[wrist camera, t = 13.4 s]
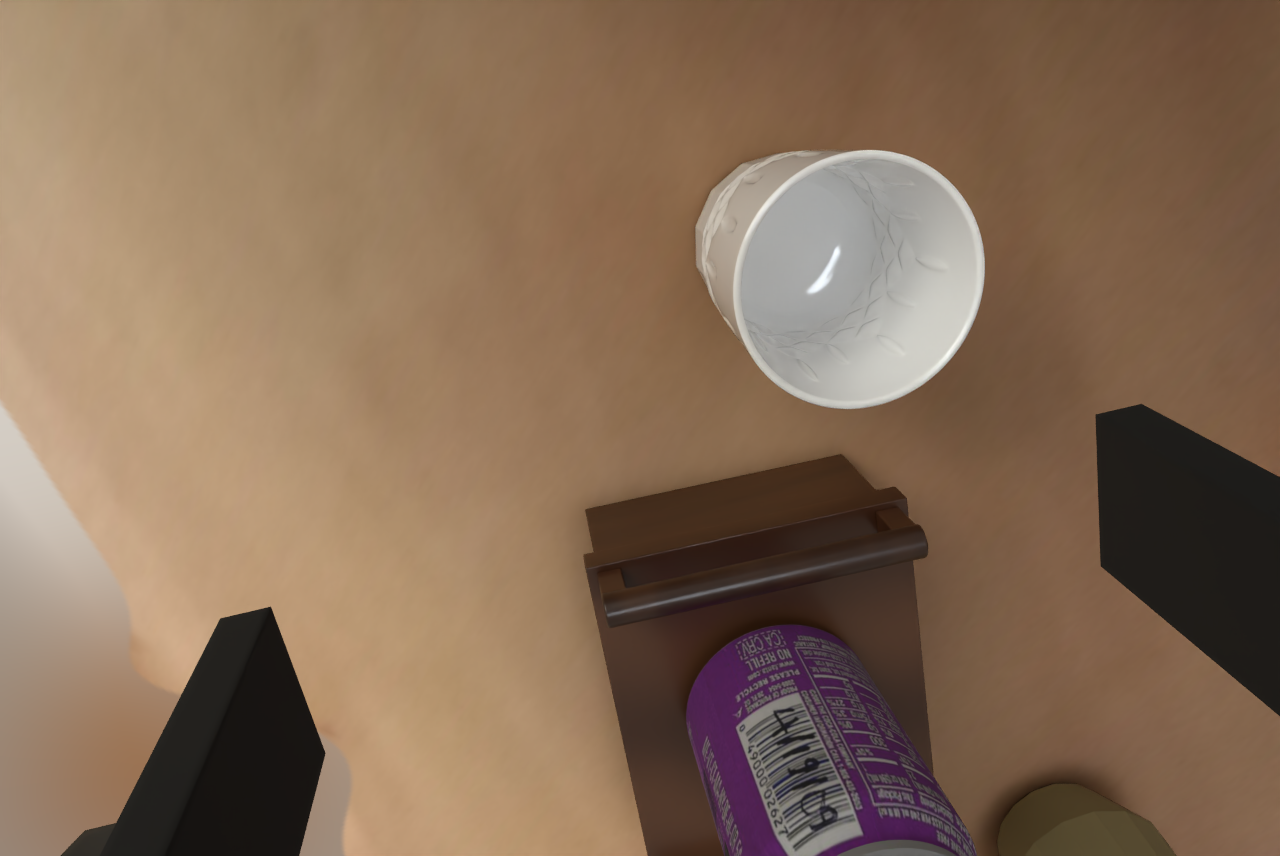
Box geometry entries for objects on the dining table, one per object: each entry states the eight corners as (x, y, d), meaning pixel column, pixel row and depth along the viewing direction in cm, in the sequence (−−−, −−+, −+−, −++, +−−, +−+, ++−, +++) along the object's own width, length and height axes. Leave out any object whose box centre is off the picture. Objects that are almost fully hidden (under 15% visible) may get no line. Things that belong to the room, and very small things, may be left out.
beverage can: (662, 762, 39) (727, 1031, 28) (710, 600, 37) (801, 818, 26) (831, 785, 41) (959, 1051, 29) (886, 630, 39) (1045, 850, 27)
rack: (573, 500, 42) (591, 603, 34) (849, 440, 43) (936, 527, 35) (639, 808, 48) (670, 967, 39) (885, 750, 48) (968, 893, 40)
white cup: (761, 377, 42) (837, 458, 32) (637, 232, 39) (680, 275, 30) (910, 249, 41) (1033, 294, 32) (793, 93, 38) (888, 91, 29)
